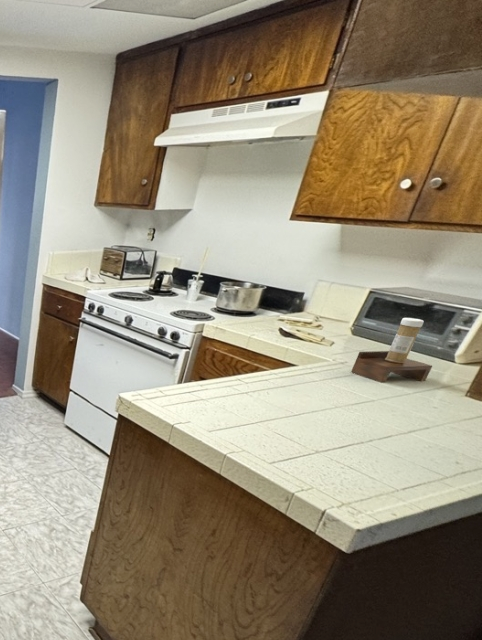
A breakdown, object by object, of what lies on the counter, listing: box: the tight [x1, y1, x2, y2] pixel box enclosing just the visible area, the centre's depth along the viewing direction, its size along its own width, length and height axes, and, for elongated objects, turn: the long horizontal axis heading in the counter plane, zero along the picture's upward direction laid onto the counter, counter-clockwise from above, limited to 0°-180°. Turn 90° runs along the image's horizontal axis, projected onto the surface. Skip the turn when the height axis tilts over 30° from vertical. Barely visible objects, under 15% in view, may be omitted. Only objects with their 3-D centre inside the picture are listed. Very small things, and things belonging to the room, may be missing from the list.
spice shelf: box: [350, 350, 433, 383], centre depth 146 cm, size 9×16×7 cm, turn 98°
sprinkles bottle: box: [385, 317, 425, 363], centre depth 143 cm, size 5×5×13 cm
